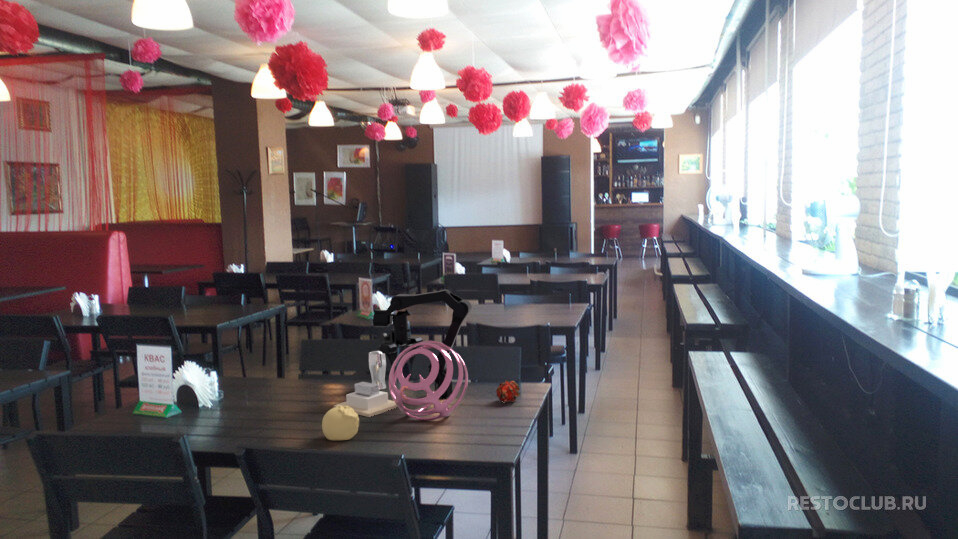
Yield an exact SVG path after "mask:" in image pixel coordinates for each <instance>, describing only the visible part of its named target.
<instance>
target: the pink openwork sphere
mask: <svg viewBox="0 0 958 539" xmlns="http://www.w3.org/2000/svg"><path fill="white" fill-rule="evenodd" d="M416 346H421V347H419V348H417V349H414V350H411V349H412V348H414V347H416ZM430 349H431V350H433V349H436V350H437V351H439V352H441V353H442V354H443V356H444V358H445V360H446V365H447V371H446V376H445V379H444V381H443V383H442V385H441V386H440V387H439V388H438V389H437V390H436V391H435V390H434V391H433V390H432V389H431V387H430V386H431V385H432V384H433V383H435V381H434V380H435V379H436V377H437V375H438V372H439V362H438V359H437V357H436V355H437V354H435V353H434V351H431V350H430ZM409 350H411V351H409ZM446 350H447V351H450V354H452V356H453V357H454V358H455V361H456V364H457V368H458V377H457V381H456V384H455V387H454V389H453V392H452V394H451V395H450V396H449V397H448V398H446V399H442V401H443V402H441V401H440V399H441V398H440V396H441V395H442V394H443V393H444V392H445V391H446V390H447V388H448V387H449V385H450V382H451V381H453V375H454V364H453V360H452V357H451V355H450V354H448V352H447V351H446ZM408 351H409V352H408ZM415 354H416V355H419V354H420V355H424V356H426V357H427V358H428V359H429V361H430V364H431V365H432V368H431V372H430V374H429V375H427V377H426V378H424V377H423V376H422V375H421V374H418V376H419V380H420V381H419V382H410V381H409V380H410V378H411V373H409V374H408V375H407V377H404V374H403V368H404V366H405V364H407V362H409V359H410V358H411V357H412V356H414V355H415ZM416 355H415V356H416ZM397 364H398V365H397ZM395 366H396V367H395ZM388 375H389V376H388V390H389V393H390V396H391V399H392V401H394V402H395V403H396V405H397V406H398V407H397V408H398V409H399V410H400V411H401V412H402V414H404V415H406V416H408V417H409V418H411V419H413V420H417V421H421V422H422V421H423V422H431V421H436V420H439V419H442V418H446V417H449V416H450V415H451V414H452V412H454V411H455V409H456V408H458V406H459V405H460V404H461V402H462V401H463V398H464V397H465V395H466V392H467V389H468V386H469V385H468V384H469V373H468V368H467V365H466V363H465V361H464V360H463V358H462V356H461V355H460V354H459V353H458V352H457V351H455V350H454V349H453V347H452V348H451V347H449V346H448V345H446V344H444V343H443V342H441V341H435V340H425V341H423V342H419V343H416V344H413V345H411V346H409V347H406V348H405V349H403V350H402V351H401V352H400V353H399V354H397V358H396V359H395V361H394V363H393V365H391V368H390V371H389V374H388ZM463 381H464V386H463ZM397 382H399V384H400V388H399V389H398V387H397ZM462 386H463V389H462V392H461V394H460V396H458V394H459V393H460V391H461V388H462ZM406 390H409V391H415V392H417V391H422V390H424V391H425V392H426V396H424V397H420V398H414V397H413V398H412V397H409V396H406V395H405V391H406ZM457 396H458V397H459V398H458V399H457V401H456V402H455V403H454V404H453V405H452V406H451V407H449V405H451V404H452V402H454V400H455V399H456V397H457ZM403 403H405V404H408V405H411V406H421V407H419V408H416V409H410V408H408V407H406V406H404V404H403ZM431 405H433V407H432V408H430V409H428V408H429V407H430V406H431ZM434 414H438V415H436V416H431V417H425V416H430V415H434Z"/></svg>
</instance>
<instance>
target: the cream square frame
mask: <svg viewBox="0 0 958 539" xmlns="http://www.w3.org/2000/svg"><path fill="white" fill-rule="evenodd" d="M345 397H346V398H345V399H346V401H344V402H340V403H337V404H334V405H333V408H335V407H336V406H337V405H342V406H349V407H351V408H352V409H354V411H355V412H356V413H357V414H358V416H359V415H360V416H364V417H367V418H371V416H372V417H374V415H375V416H377V415H379V414H383V413H386V412H389V411H391V409H392V410H395V409H397V408H399V407H398V406H397V405H396V403H395V402H394V400H391V399H389V392H386V391H380V390H379V394H378V395H375V396H372V397H371V396H369V397H366V396H362V395H358V394H357V393H355V391H354V392H350V393H348V394H346V395H345ZM396 407H397V408H396ZM394 408H395V409H394ZM388 410H389V411H388Z"/></svg>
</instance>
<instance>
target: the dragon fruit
mask: <svg viewBox="0 0 958 539" xmlns="http://www.w3.org/2000/svg"><path fill="white" fill-rule="evenodd" d="M504 381H505V382H501V383H499V385H498V386H497V388H496V397H497V398H498V399H499V401H500V402H501V401H503V402H507V403H509V402H511V401H514V402H515V401H517V398H518V397H520V396H521V395H522V394H521V392H519V391H520V386H519V384H518V383H516V381H515V380H511V381H509V380H508V379H506V380H504Z"/></svg>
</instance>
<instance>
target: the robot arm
mask: <svg viewBox="0 0 958 539" xmlns="http://www.w3.org/2000/svg"><path fill="white" fill-rule="evenodd" d="M435 302H444V303H445V304H446V305H447V307H449V308H450V309H451V310H452V317H451V323H450V326H449V328H448V330H447V333H446V335H445V338H444V339H443V342H442V343H444V344H446V345H448V346H449V347H451V348H452V349H453V348H454V344H455V341H456V339H457V337H458V334H459V332H460V329H461V327H462V324H463V323H464V321H465V320H466V319H467V318H468V316H469V314H470V312H471V310H472V309H473V308H472V306H473V305H472V304H471V302H470V301H469V300H467V299H463V298H462V297H461V296H458V295H457V294H455V293H453V292H451V290H449V289H443V290H437V291H430V292H425V293H424V292H423V293H418V294H411V293H399V294H397V295H394V296H392V298H391V299H390V301H389V303H390V304H389V306H388V308H387V309H374V313H373V317H372V318H373V319H372V325H373V327H374V328H389V327H390V326H391V325H392V328H391V329H390V333H386V332H383V333H381V334H380V335H379V339H380V342H381V344H379V347H378V351H379V352H382V353H384V354H385V356H386V357H387V359H388V360H389V361H388V362H389V363H390V365H391V366H392V365H393V363H394V361H395V359H396V358H397V356H398V352H397V349H399V348H402V347H406V348H407V347H409V346H411V345H413V344H416V343H419V342H423V338H422V337H420V336H409V332H411V328H409V326H408V317H410V316H412V315H413V312H412V311H411V310H410V309H409V308H410V307H412V306H416V305H422V304H423V305H424V304H429V303H435ZM394 312H396V313H394ZM421 346H422V345H421ZM421 346H416V347H414V348H412V349H411V350H414V349H417V348H419V347H421ZM411 350H409V351H411ZM409 351H408V352H409ZM446 351H447V350H446ZM408 352H407V353H408ZM447 352H448V354H449V355H450V354H451V352H450V351H447ZM416 355H417V354H415V355H414V356H412V357H411V358H410V359H409V360H408V363H409V364H411V365H412V364H413V362H414V361H415V357H416ZM435 355H436V357H437V359H438V362H439V372H438V375H437V377H436V379H435V380H434V392H435V391H436V390H437V389H438V388H439V387H440V386H441V385H442V383H443V381H444V379H445V376H446V371H447V365H446V360H445V358H444V356H443V354H442V353H441V352H440V351H439V353H438V355H437V354H435ZM395 368H397V365H396V366H395ZM427 368H428V373H429V374H430V372H431V368H432V365H431V363H429V366H428V367H427ZM453 391H454V389H453V380H451V382H450V385H449V387H448V388H447V390H446V391H445V392H444V393H443V394H442V395H441V396H440V398H439V399H442V400H443V399H444V400H447V399H448V397H449V396H450V395H451V394H452V392H453Z"/></svg>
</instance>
